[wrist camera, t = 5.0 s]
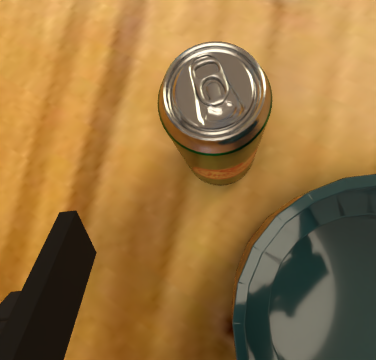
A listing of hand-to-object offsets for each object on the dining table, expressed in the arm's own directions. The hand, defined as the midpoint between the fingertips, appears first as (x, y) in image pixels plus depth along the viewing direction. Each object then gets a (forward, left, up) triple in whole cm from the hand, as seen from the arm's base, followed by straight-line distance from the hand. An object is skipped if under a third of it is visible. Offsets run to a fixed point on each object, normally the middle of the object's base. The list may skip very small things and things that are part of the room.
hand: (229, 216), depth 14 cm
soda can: (0, +5, -11) cm, 12 cm away
